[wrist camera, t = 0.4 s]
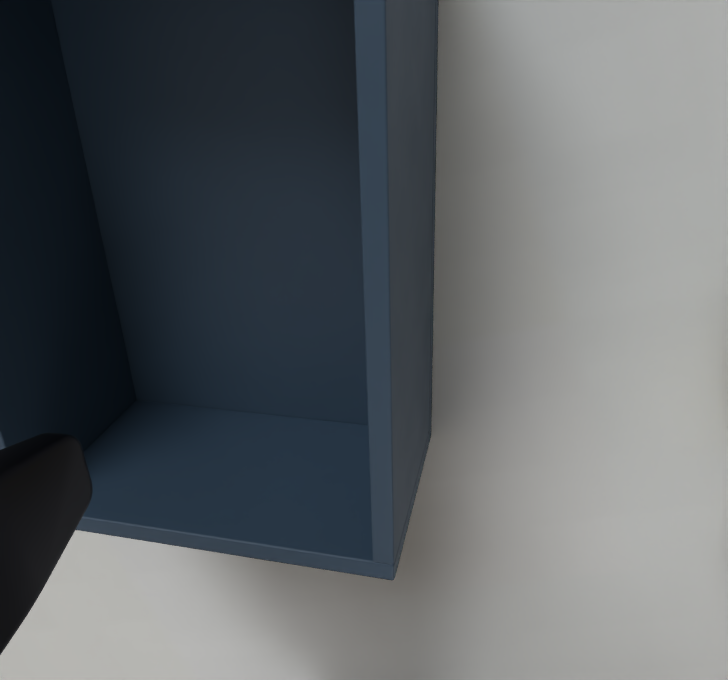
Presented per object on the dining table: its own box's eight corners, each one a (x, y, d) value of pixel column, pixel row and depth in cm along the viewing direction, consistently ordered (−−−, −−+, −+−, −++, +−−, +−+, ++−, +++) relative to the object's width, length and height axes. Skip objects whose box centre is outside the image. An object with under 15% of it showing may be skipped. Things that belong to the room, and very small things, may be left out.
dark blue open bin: (431, 435, 24) (394, 581, 18) (134, 403, 27) (14, 520, 21) (440, -109, 17) (382, -179, 11) (29, -78, 19) (-208, -119, 13)
